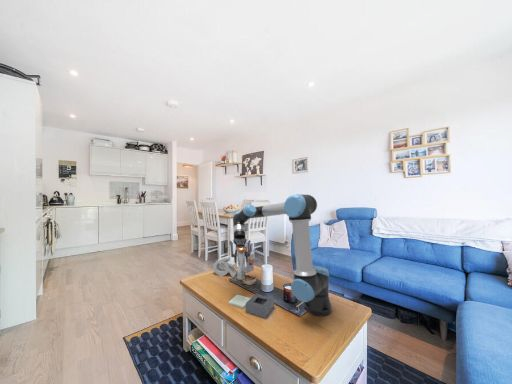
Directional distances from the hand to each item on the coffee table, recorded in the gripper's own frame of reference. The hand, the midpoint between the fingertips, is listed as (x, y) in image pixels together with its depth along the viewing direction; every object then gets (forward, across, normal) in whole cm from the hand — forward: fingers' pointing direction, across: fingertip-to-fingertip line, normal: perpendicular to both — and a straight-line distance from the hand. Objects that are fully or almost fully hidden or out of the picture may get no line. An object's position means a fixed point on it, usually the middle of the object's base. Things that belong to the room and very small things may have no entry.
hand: (241, 267), depth 120 cm
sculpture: (-17, +8, -48) cm, 52 cm away
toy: (-12, -7, -44) cm, 46 cm away
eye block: (+20, -10, -11) cm, 25 cm away
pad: (+13, 0, -18) cm, 22 cm away
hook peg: (+3, 0, -8) cm, 9 cm away
